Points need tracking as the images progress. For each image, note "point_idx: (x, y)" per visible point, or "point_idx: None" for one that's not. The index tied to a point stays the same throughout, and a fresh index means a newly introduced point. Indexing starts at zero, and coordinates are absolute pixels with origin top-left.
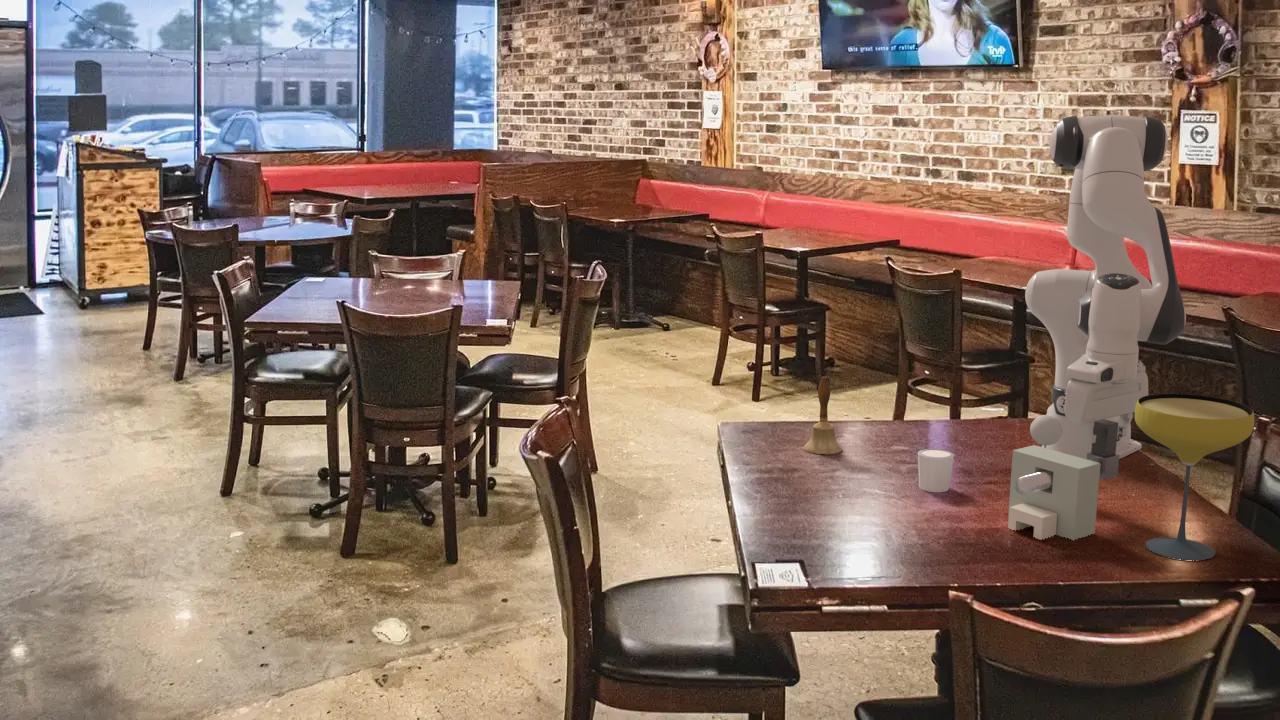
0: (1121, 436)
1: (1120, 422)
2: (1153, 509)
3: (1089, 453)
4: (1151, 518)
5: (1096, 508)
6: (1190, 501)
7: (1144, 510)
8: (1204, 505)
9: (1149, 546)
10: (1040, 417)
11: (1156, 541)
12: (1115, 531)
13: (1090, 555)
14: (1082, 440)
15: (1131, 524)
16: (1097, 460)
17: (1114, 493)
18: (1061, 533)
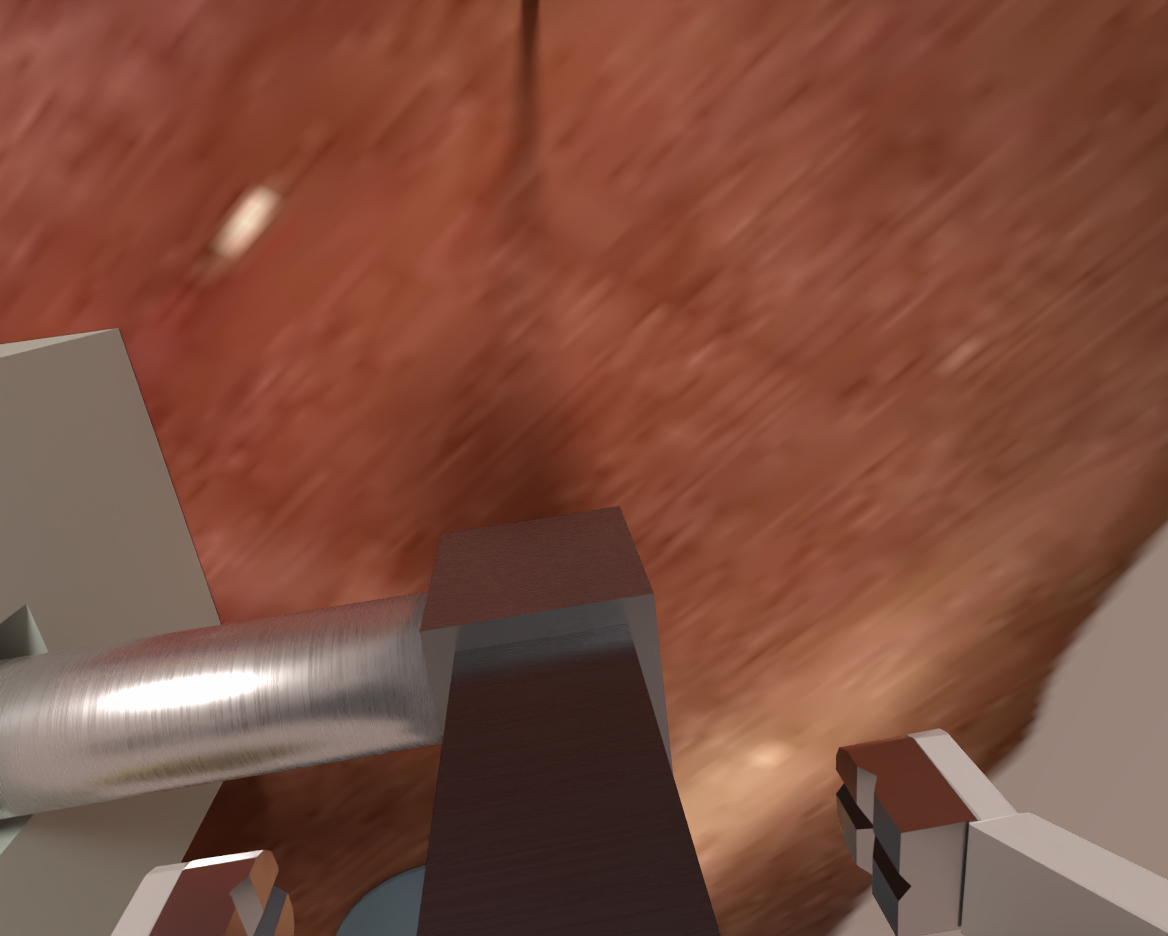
0: (844, 830)
1: (1028, 893)
2: (822, 578)
3: (432, 650)
4: (694, 666)
5: (196, 827)
6: (1086, 564)
7: (770, 572)
8: (1077, 630)
9: (352, 926)
10: None
11: (412, 915)
12: None
13: None
14: (139, 889)
15: None
16: (420, 739)
17: (895, 287)
18: None
